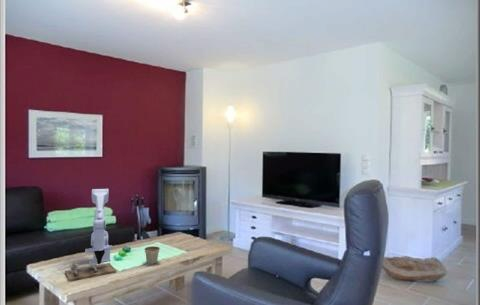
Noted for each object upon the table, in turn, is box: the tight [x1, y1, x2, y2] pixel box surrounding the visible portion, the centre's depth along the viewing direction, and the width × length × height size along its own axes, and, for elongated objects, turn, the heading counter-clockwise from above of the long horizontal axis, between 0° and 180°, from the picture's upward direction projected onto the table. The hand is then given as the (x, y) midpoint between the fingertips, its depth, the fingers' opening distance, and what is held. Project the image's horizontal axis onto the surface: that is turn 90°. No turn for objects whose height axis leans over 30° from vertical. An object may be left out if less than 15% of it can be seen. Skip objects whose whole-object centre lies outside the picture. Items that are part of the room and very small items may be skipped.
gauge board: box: [64, 262, 117, 282], centre depth 196 cm, size 24×14×6 cm, turn 125°
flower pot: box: [143, 246, 161, 265], centre depth 214 cm, size 9×9×9 cm
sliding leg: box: [88, 260, 98, 271], centre depth 198 cm, size 3×8×3 cm, turn 35°
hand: (99, 263), depth 201 cm, fingers closed
